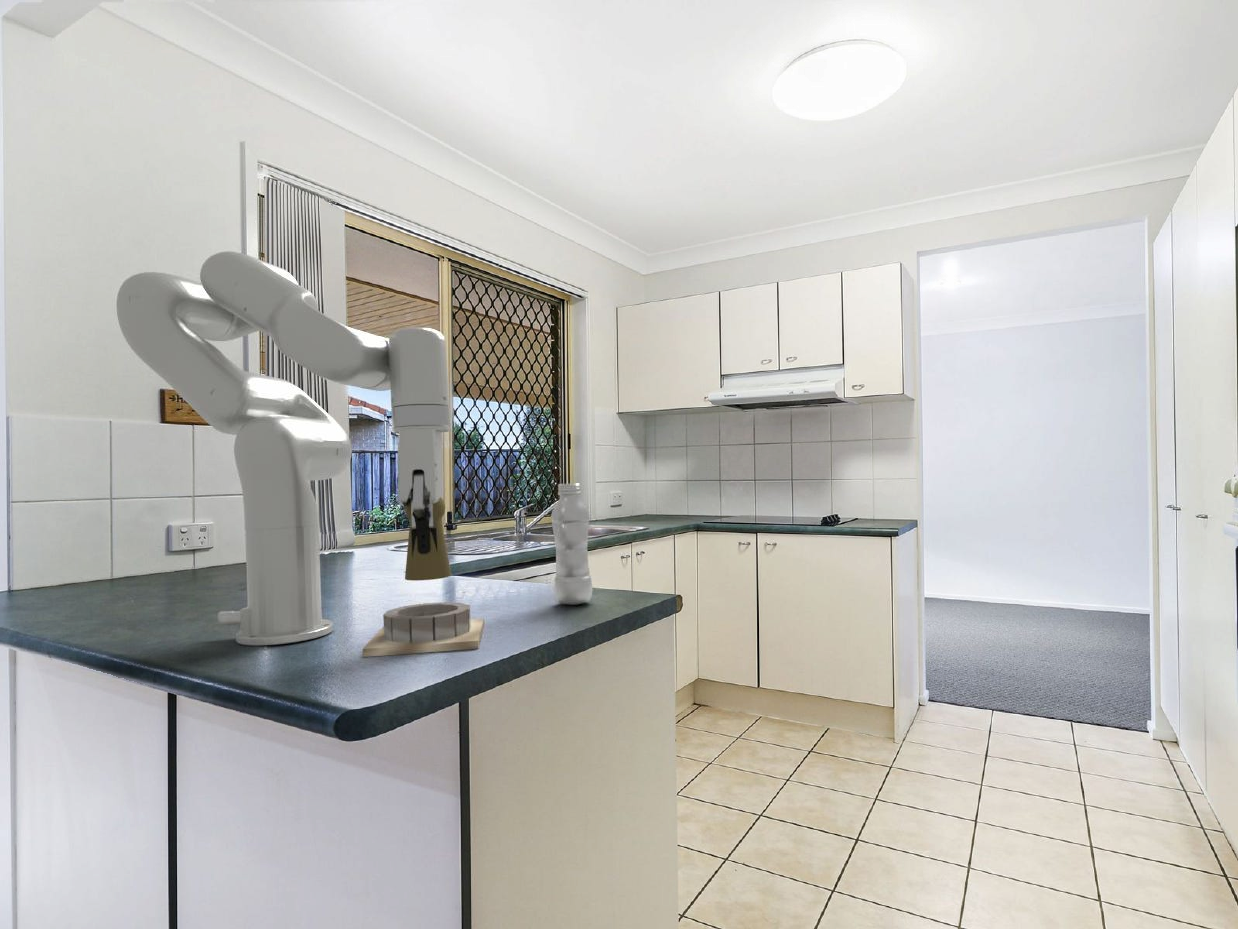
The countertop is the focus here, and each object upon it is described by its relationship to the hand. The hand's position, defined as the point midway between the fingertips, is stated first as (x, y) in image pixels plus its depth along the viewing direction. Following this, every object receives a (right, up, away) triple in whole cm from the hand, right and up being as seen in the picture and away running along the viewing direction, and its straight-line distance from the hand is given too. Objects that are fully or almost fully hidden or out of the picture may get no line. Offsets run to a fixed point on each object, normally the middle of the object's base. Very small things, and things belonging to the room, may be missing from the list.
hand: (427, 555), depth 94 cm
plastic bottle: (+18, -11, +22) cm, 30 cm away
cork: (0, -3, 0) cm, 3 cm away
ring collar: (0, -11, 0) cm, 11 cm away
